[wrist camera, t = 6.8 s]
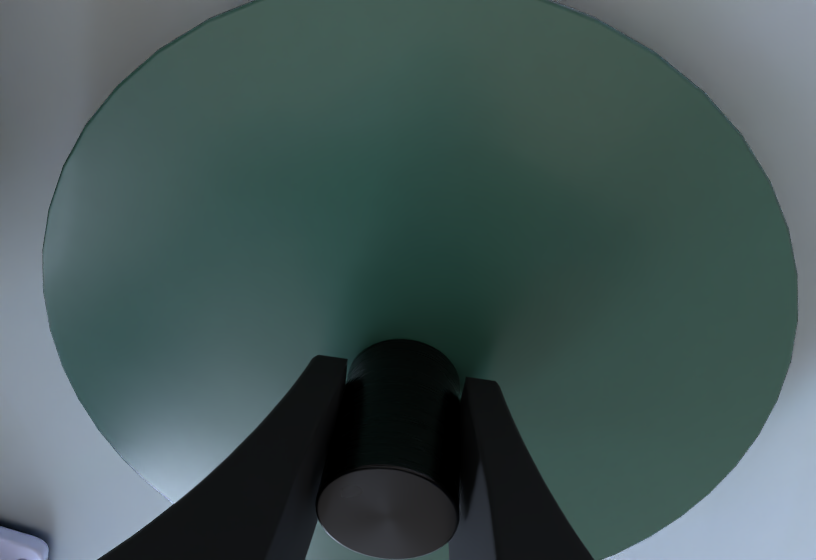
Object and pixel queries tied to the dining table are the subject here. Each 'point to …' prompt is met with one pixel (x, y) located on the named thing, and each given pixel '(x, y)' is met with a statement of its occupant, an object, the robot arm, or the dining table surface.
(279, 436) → the robot arm
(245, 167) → the pot lid
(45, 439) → the dining table surface
